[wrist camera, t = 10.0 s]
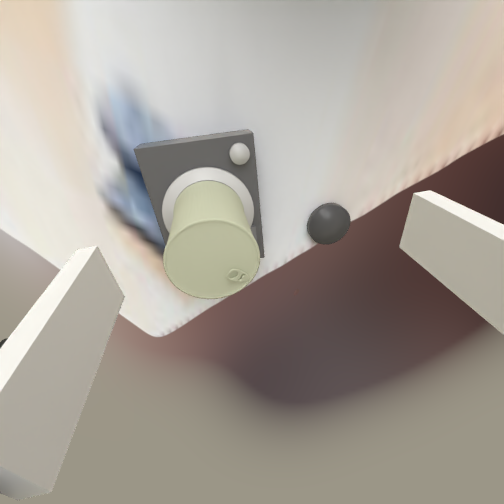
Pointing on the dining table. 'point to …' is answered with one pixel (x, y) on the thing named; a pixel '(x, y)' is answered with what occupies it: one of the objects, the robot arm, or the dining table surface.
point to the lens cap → (328, 223)
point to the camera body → (201, 173)
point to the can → (210, 242)
